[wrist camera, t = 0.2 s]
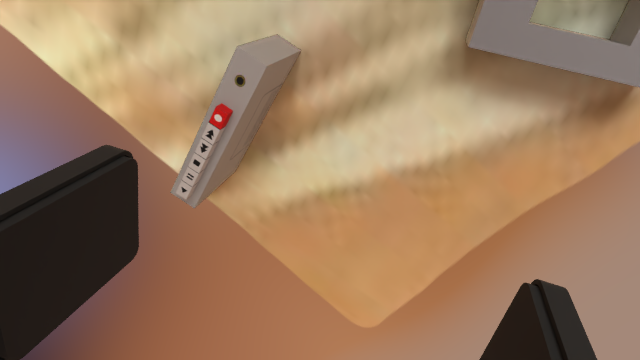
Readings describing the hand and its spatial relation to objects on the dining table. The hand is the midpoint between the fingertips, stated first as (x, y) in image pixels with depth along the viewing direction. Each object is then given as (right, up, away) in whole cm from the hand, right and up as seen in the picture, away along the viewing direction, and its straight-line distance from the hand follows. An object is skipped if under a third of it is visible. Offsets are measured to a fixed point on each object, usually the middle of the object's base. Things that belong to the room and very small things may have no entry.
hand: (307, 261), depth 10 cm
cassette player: (-6, +9, +33) cm, 35 cm away
